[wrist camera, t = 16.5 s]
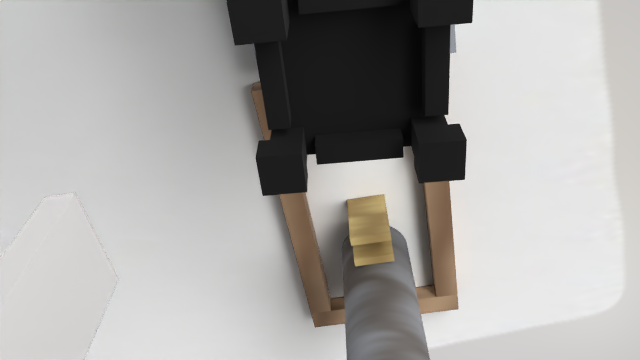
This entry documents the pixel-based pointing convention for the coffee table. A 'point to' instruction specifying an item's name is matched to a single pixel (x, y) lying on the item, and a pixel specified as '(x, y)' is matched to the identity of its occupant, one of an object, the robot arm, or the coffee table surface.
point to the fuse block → (374, 271)
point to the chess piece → (353, 84)
